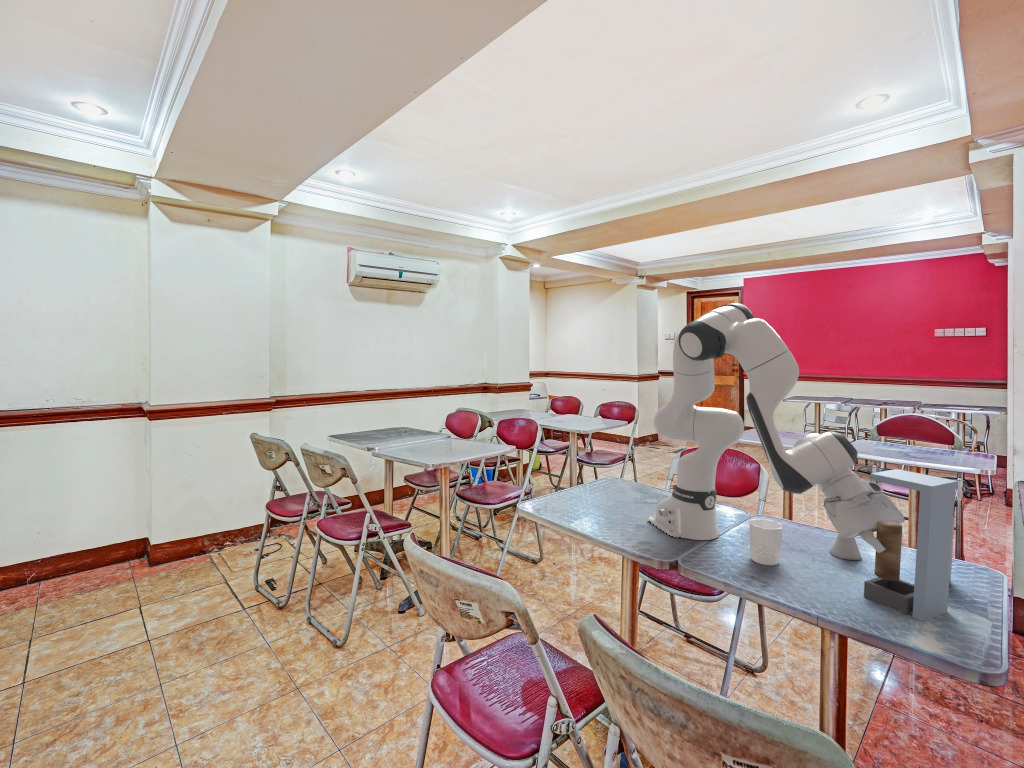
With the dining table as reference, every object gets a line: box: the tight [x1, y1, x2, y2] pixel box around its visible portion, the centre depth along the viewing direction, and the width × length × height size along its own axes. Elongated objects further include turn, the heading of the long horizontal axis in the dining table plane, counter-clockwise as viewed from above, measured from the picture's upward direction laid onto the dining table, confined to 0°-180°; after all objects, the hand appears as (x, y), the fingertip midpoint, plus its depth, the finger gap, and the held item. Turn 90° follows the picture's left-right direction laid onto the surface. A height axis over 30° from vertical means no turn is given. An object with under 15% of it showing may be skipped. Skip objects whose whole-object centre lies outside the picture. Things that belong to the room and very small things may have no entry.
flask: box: [829, 532, 863, 561], centre depth 133 cm, size 7×7×10 cm
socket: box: [863, 576, 915, 615], centre depth 109 cm, size 8×8×4 cm
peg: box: [874, 521, 903, 581], centre depth 110 cm, size 4×4×12 cm
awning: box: [870, 468, 959, 622], centre depth 107 cm, size 12×10×28 cm
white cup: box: [748, 518, 784, 566], centre depth 130 cm, size 8×8×10 cm
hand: (891, 549), depth 109 cm, fingers closed on peg, 4 cm apart
